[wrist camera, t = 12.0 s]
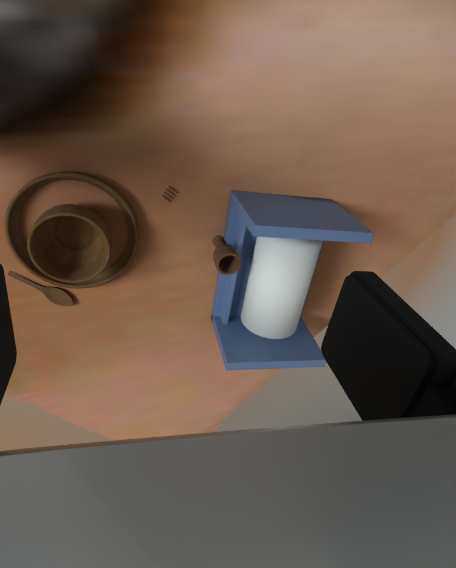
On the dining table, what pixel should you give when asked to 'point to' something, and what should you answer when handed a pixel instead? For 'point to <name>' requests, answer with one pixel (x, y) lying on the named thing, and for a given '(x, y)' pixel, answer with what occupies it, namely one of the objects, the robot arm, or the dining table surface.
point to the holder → (231, 288)
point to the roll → (278, 285)
